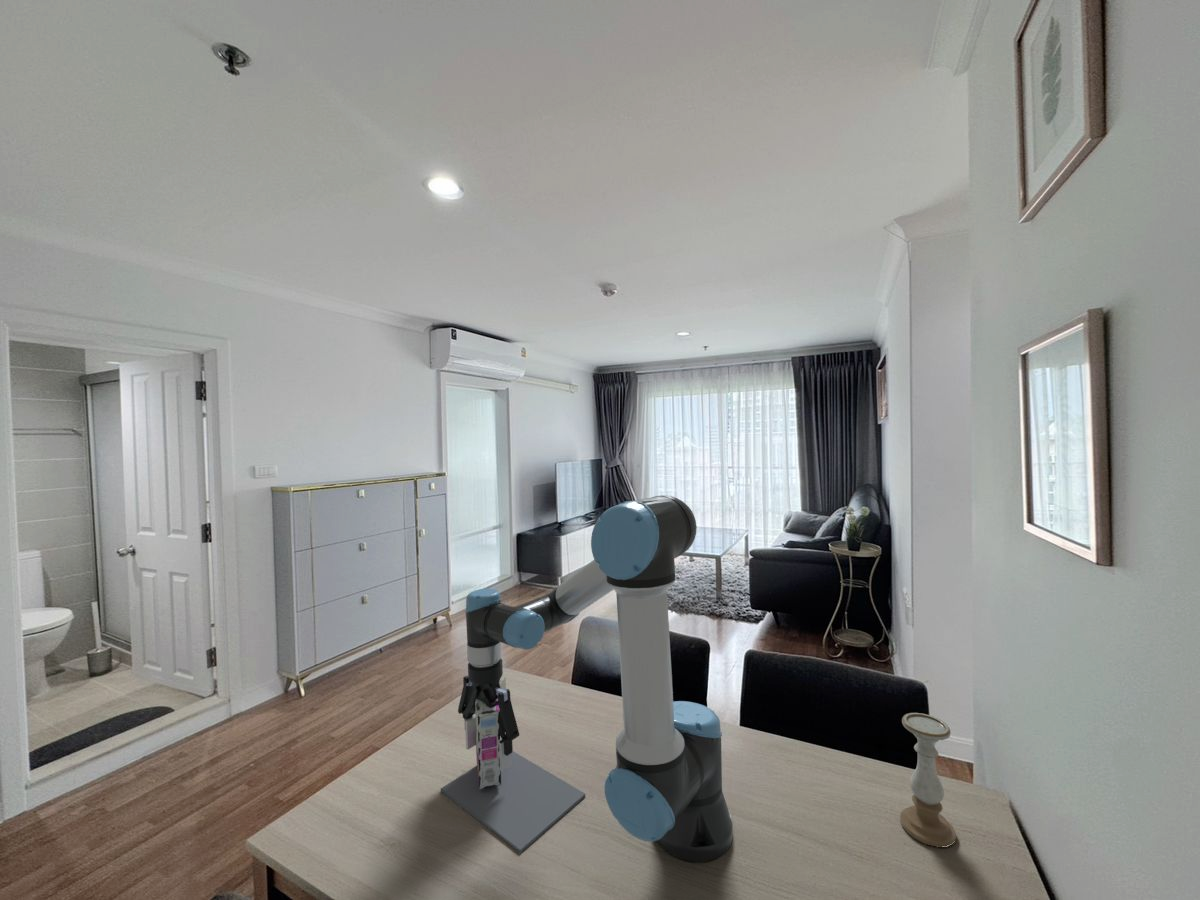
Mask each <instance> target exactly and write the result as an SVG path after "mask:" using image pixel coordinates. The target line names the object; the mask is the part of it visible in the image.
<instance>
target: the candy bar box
mask: <svg viewBox="0 0 1200 900" xmlns="http://www.w3.org/2000/svg"><path fill="white" fill-rule="evenodd" d="M497 702H498V701H497V699H496V701H495V702H493V703H491V704H492V705H493V704H495V703H497ZM474 715H475V718H476V745H475V749H476V750H475V752H476V755H475V756H476V766H477V770H478V781H479V789H480V790H481V789H486V788H490V787H496V786H499V785H501V770H500V757H499V740H500V739H501V736H500V733H499V723H500V709H499V705H497V706H494V707H492V708H489V707H488V706H486V703H484V702H482V701H481V700H478V698H477V697H476V700H475V714H474Z"/></svg>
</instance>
